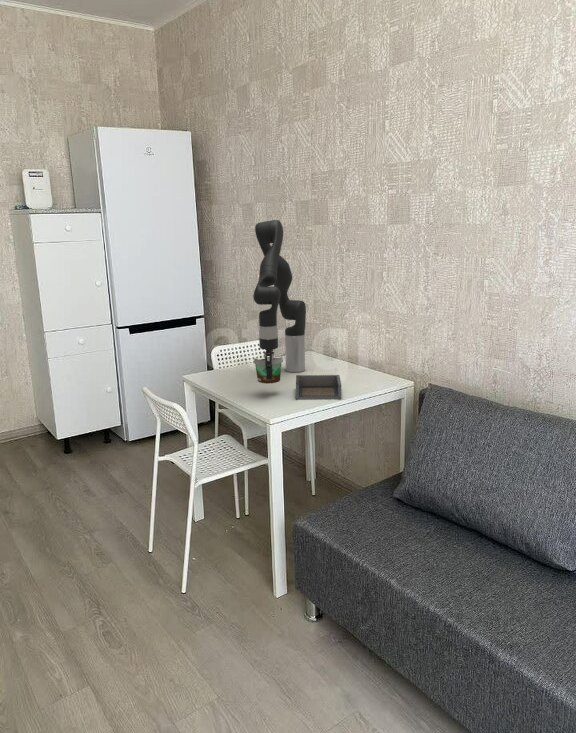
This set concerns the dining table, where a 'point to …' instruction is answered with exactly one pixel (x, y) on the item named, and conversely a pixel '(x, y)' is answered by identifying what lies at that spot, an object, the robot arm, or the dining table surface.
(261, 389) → the dining table surface
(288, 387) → the dining table surface
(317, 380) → the keeper cradle
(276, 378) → the food container
